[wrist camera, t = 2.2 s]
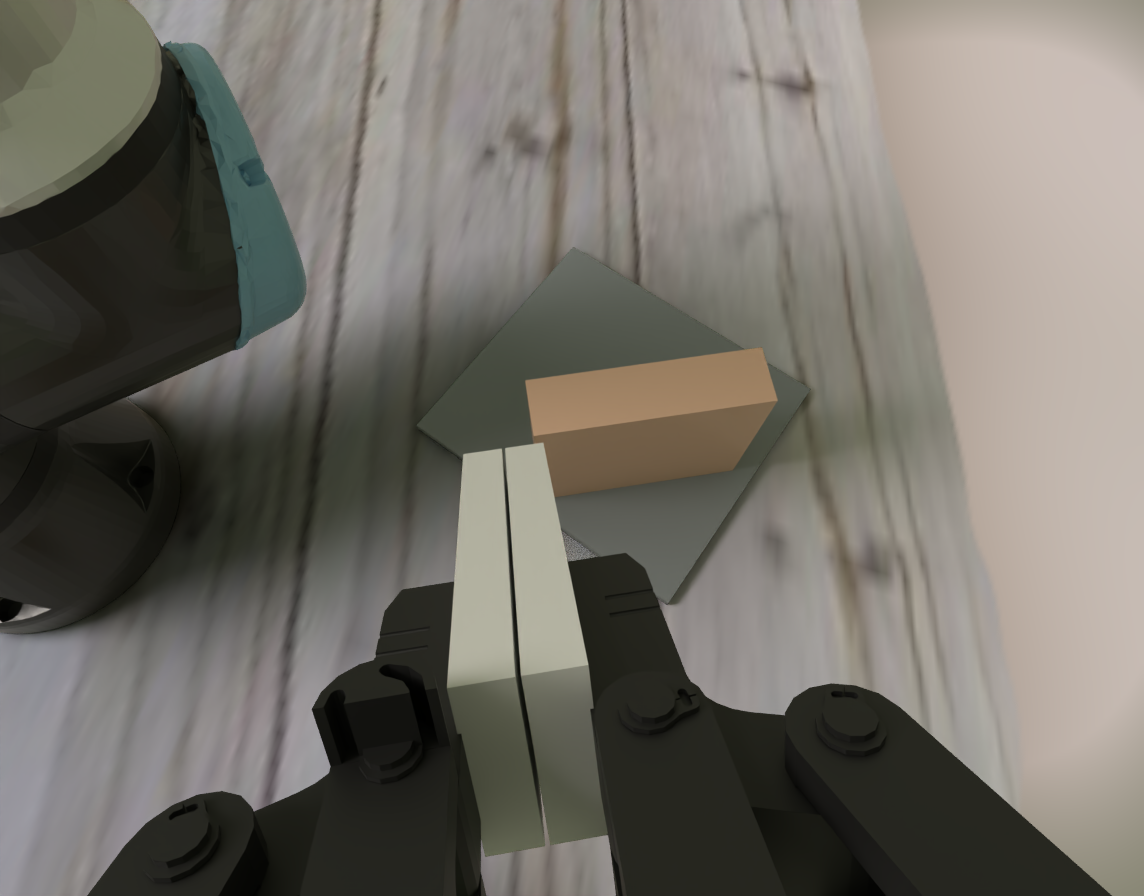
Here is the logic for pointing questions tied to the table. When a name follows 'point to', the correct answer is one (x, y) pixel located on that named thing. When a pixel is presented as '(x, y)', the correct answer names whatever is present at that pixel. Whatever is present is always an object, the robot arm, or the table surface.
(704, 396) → the tile
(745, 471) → the mat
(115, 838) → the table surface
